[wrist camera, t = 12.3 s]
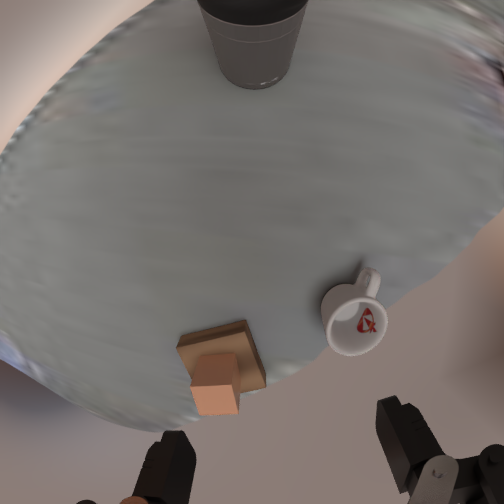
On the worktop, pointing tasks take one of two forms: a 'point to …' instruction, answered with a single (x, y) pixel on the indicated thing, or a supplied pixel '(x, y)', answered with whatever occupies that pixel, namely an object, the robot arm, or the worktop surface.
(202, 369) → the terracotta block
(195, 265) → the worktop surface
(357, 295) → the cup
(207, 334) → the walnut block
